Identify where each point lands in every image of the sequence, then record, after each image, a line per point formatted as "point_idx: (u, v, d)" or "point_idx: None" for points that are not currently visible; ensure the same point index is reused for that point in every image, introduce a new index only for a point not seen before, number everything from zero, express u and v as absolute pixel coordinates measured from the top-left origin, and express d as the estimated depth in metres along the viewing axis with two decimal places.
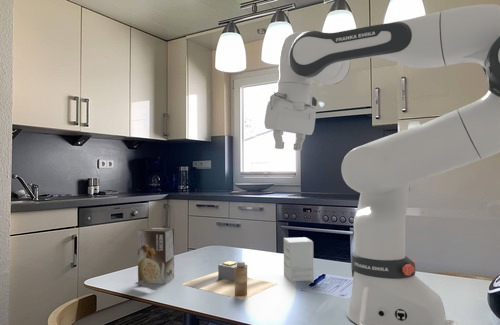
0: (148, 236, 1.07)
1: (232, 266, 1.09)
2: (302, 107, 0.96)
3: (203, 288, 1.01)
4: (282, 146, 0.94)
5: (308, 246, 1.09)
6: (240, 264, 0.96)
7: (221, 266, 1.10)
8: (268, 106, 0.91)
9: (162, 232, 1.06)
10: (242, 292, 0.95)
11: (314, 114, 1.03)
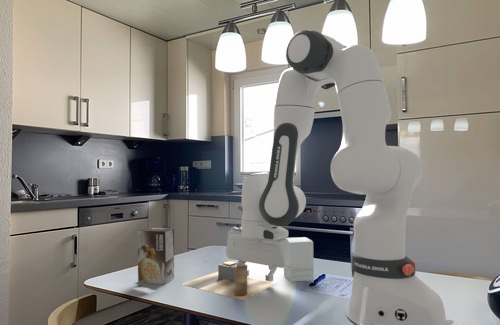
0: (148, 236, 1.07)
1: (232, 266, 1.09)
2: (250, 241, 1.03)
3: (203, 288, 1.01)
4: None
5: (308, 246, 1.09)
6: (240, 264, 0.96)
7: (221, 266, 1.10)
8: None
9: (162, 232, 1.06)
10: (242, 292, 0.95)
11: (278, 247, 0.99)
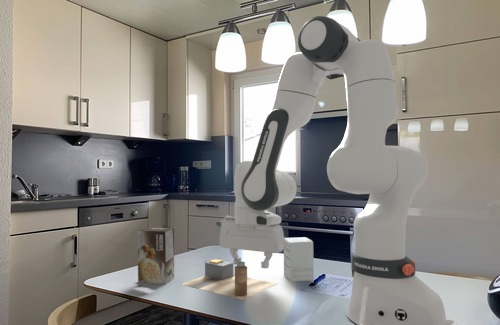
0: (148, 236, 1.07)
1: (218, 264, 1.11)
2: (243, 227, 1.04)
3: (203, 288, 1.01)
4: (235, 262, 1.08)
5: (308, 246, 1.09)
6: (240, 264, 0.96)
7: (207, 264, 1.13)
8: None
9: (162, 232, 1.06)
10: (242, 292, 0.95)
11: (271, 232, 1.00)
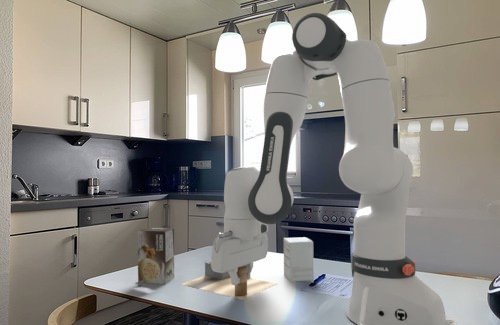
0: (148, 236, 1.07)
1: None
2: (250, 240, 0.95)
3: (203, 288, 1.01)
4: (238, 282, 0.94)
5: (308, 246, 1.09)
6: None
7: (207, 264, 1.13)
8: (213, 249, 0.90)
9: (162, 232, 1.06)
10: (242, 292, 0.95)
11: (266, 238, 1.02)
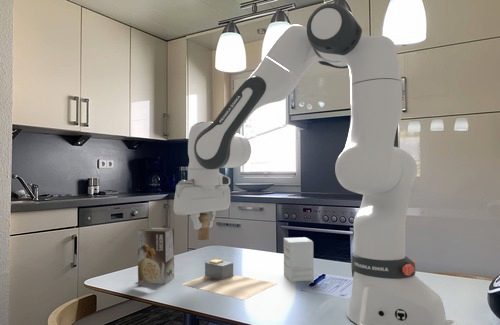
0: (148, 236, 1.07)
1: (218, 264, 1.11)
2: (211, 189, 1.04)
3: (203, 288, 1.01)
4: (200, 227, 1.03)
5: (308, 246, 1.09)
6: None
7: (207, 264, 1.13)
8: (175, 194, 0.99)
9: (162, 232, 1.06)
10: (204, 236, 1.04)
11: (228, 190, 1.11)
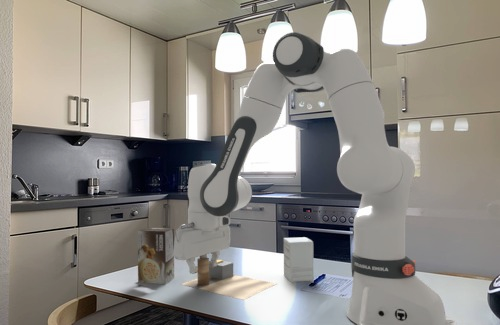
0: (148, 236, 1.07)
1: (218, 264, 1.11)
2: (211, 231, 1.04)
3: (203, 288, 1.01)
4: (195, 271, 1.02)
5: (308, 246, 1.09)
6: (202, 256, 1.05)
7: None
8: (175, 239, 0.99)
9: (162, 232, 1.06)
10: (204, 282, 1.04)
11: (228, 230, 1.11)
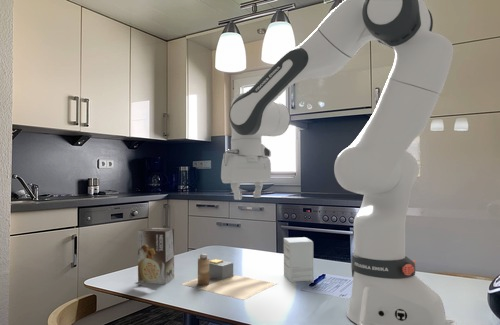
0: (148, 236, 1.07)
1: (218, 264, 1.11)
2: (255, 159, 1.05)
3: (203, 288, 1.01)
4: (240, 197, 1.02)
5: (308, 246, 1.09)
6: (202, 256, 1.05)
7: None
8: (223, 163, 1.00)
9: (162, 232, 1.06)
10: (204, 282, 1.04)
11: (269, 163, 1.13)
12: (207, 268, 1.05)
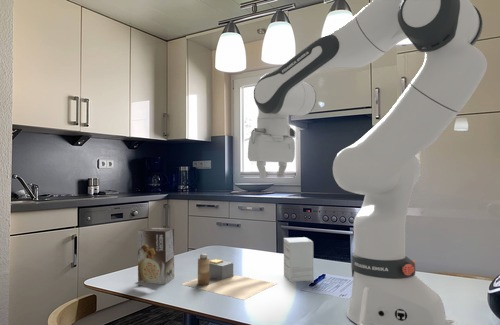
0: (148, 236, 1.07)
1: (218, 264, 1.11)
2: (281, 139, 1.06)
3: (203, 288, 1.01)
4: (266, 175, 1.04)
5: (308, 246, 1.09)
6: (202, 256, 1.05)
7: None
8: (250, 141, 1.01)
9: (162, 232, 1.06)
10: (204, 282, 1.04)
11: (293, 143, 1.14)
12: (207, 268, 1.05)
